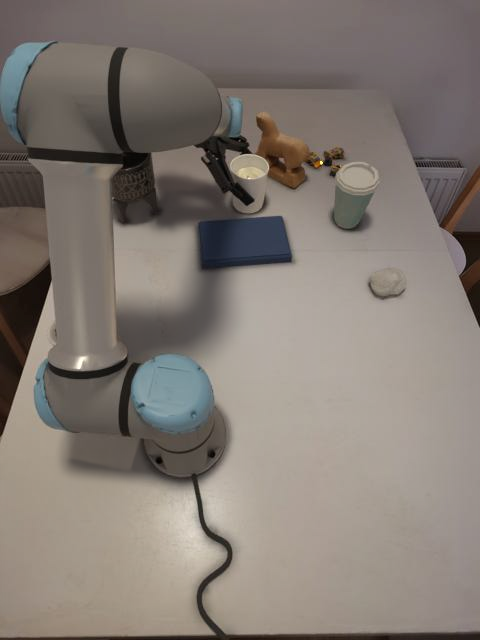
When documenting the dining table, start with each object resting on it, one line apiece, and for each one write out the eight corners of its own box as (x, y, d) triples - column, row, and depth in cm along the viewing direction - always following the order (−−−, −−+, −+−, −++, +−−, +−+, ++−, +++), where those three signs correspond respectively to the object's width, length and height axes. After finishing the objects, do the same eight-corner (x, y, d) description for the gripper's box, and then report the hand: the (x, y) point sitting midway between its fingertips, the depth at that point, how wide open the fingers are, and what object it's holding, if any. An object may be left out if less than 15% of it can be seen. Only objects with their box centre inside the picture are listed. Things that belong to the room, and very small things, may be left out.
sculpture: (260, 155, 129) (264, 106, 117) (307, 179, 124) (315, 131, 111) (247, 165, 127) (249, 116, 114) (294, 190, 121) (301, 142, 108)
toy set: (359, 163, 128) (363, 149, 124) (335, 181, 123) (338, 166, 119) (327, 145, 132) (330, 131, 128) (303, 161, 128) (305, 147, 124)
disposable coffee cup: (347, 240, 111) (362, 194, 98) (316, 218, 115) (327, 171, 102) (373, 221, 115) (390, 175, 102) (342, 200, 119) (356, 153, 106)
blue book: (291, 261, 106) (292, 255, 104) (202, 268, 105) (201, 262, 103) (281, 221, 114) (282, 215, 112) (198, 227, 112) (198, 221, 110)
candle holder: (222, 204, 117) (221, 167, 107) (245, 186, 121) (247, 148, 111) (250, 221, 114) (252, 184, 104) (273, 202, 118) (277, 165, 108)
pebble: (377, 268, 106) (383, 254, 102) (408, 283, 103) (415, 269, 99) (361, 290, 102) (367, 277, 98) (393, 307, 99) (400, 294, 95)
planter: (165, 196, 118) (156, 138, 104) (155, 229, 111) (144, 172, 97) (119, 192, 119) (103, 134, 104) (106, 225, 112) (87, 168, 97)
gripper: (198, 104, 110) (253, 163, 121) (171, 165, 97) (235, 224, 108) (218, 86, 105) (273, 149, 116) (192, 147, 92) (257, 211, 103)
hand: (255, 185), depth 112 cm, fingers open, 13 cm apart
